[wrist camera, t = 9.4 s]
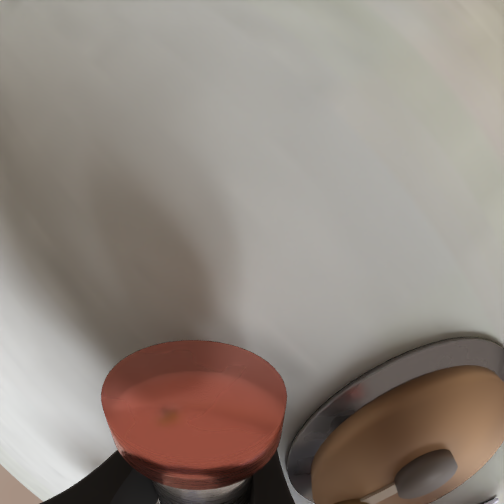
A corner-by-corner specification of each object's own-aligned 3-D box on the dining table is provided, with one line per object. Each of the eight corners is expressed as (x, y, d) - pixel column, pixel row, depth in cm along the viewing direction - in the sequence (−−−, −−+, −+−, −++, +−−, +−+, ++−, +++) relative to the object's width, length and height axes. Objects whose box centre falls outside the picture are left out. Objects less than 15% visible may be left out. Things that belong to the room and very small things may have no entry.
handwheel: (472, 316, 9) (580, 424, 3) (515, 421, 10) (562, 490, 4) (255, 466, 11) (244, 590, 5) (368, 518, 12) (381, 595, 6)
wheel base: (545, 327, 9) (548, 330, 9) (455, 484, 12) (456, 487, 12) (310, 340, 10) (310, 344, 9) (274, 510, 13) (274, 514, 12)
